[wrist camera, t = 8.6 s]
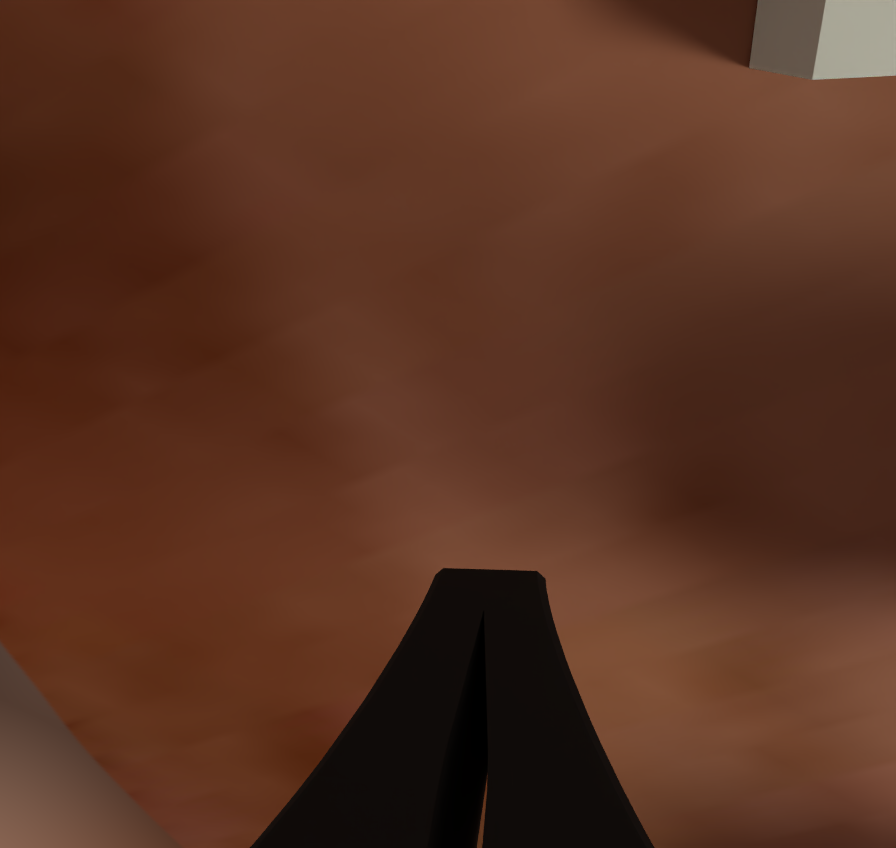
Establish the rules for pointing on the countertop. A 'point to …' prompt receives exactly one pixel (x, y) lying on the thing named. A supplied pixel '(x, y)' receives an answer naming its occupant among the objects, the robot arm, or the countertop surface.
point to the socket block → (825, 38)
